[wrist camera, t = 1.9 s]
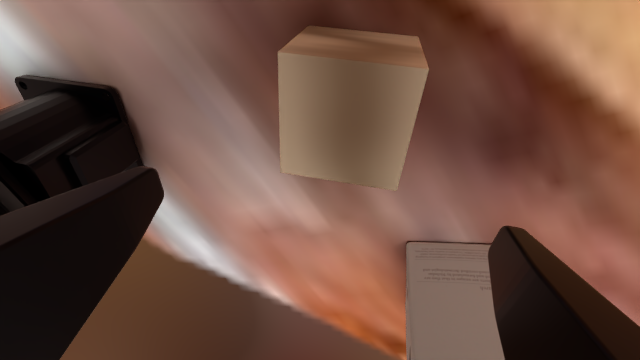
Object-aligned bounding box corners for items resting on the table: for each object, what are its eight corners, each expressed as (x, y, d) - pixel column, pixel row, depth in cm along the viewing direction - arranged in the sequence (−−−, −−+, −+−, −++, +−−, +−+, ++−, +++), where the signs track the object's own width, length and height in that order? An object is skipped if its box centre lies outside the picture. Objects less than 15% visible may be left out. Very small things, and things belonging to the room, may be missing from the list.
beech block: (305, 122, 17) (280, 172, 13) (309, 25, 14) (277, 51, 10) (395, 135, 17) (396, 191, 13) (418, 36, 14) (429, 69, 10)
